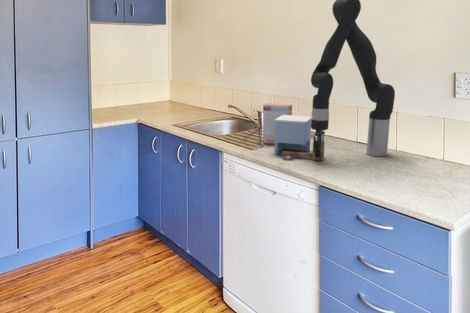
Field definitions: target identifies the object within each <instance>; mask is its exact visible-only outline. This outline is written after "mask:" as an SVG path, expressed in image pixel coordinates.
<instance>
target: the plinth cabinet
mask: <svg viewBox="0 0 470 313" xmlns="http://www.w3.org/2000/svg"><path fill="white" fill-rule="evenodd" d="M311 117H312V116H306V115H305V116H304V115H293V114H292V115H282V116H280V117H278V118H276V119H275V120H274V121H275V145H274V155H275V156H277V155H279V154H281V151H284V150H290V151H291V150H292V151H293V150H294V151H301V152H302V151H303V152H311V137H312V136H311V135H312V128H311Z"/></svg>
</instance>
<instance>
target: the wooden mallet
mask: <svg viewBox="0 0 470 313" xmlns="http://www.w3.org/2000/svg"><path fill="white" fill-rule="evenodd" d="M316 146H318V144H316ZM325 146H326V145H325V140H324V141H322V144H321V147H320V148H321V149H320V157H319V158H318V157H315V149H314V141H313V142H312V153H311V152H302V151H291V150H290V151H289V150H282V151H281V152H280V156H281V157H283V155H293V156H294V158H297V159H299V158H300V159H309V160H312V161H321V162H322V161H323V160H324V158H325Z"/></svg>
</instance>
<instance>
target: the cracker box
mask: <svg viewBox="0 0 470 313" xmlns="http://www.w3.org/2000/svg"><path fill="white" fill-rule="evenodd" d="M262 108H263V110H262V114H263V115H262V144H263V145H271V144H272V145H273V146H275V121H274V120H275V119H276V118H278V117H280V116H282V115H292V116H293V104H283V103H270V102H269V103H264V104H263V107H262Z"/></svg>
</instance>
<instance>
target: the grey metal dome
mask: <svg viewBox="0 0 470 313" xmlns="http://www.w3.org/2000/svg"><path fill="white" fill-rule="evenodd" d="M294 159H295V157H294V156H293V155H283V156H282V160H283V161H288V162H289V161H293V160H294Z"/></svg>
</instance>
